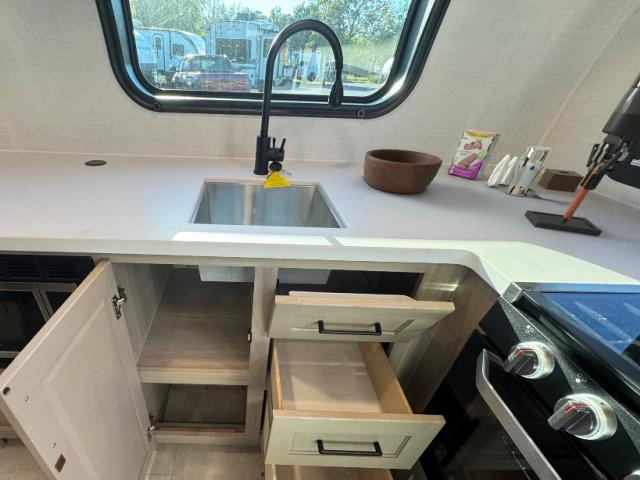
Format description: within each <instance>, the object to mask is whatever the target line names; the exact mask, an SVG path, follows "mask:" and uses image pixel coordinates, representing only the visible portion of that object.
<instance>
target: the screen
mask: <svg viewBox="0 0 640 480" xmlns="http://www.w3.org/2000/svg"><path fill="white" fill-rule="evenodd" d="M534 214H535V215H536V216H537V217H538V218H539V219H540V221H541V222H548V223H555V224H563V225H570V226H577V227H584V228H591V227H590V226H589V225H587V224H586V223H585V222H584V221H583V220H581V219H575V218H570V219H568V220H567V221H566V222H565V221H563V220H564V217H560V216H552V215H545V214H538V213H534ZM591 229H592V228H591Z"/></svg>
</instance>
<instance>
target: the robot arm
mask: <svg viewBox="0 0 640 480" xmlns="http://www.w3.org/2000/svg"><path fill="white" fill-rule="evenodd" d="M601 133H603V134H606V136H605V137H604V138H603V139H602V141H601V142H600V143H594V144H592V145H593V146H592V148H591V151H590V154H589V156H588V159H587V162H586V165H585V168H587V173H586V174H585V176H584V178H583V180H582V181H581V183H580V184H579V187H581V188H582V187H583V185H584V184H585V182H586V181H587V179H588V177H589V176H590V174H591V173H592V171H593V170H594V168H595V167H596V168H595V170H594V171H593V174H591V176H590V178H589V179H588V181H587V182H586V184H585V185H584V187H583V188H584V189H586V190H589V191H594V190H596V189H597V187H598V185H599V184H600V183H601V181H602V180H603V178H604V177H605V176H607V175H613V174H614V173H615V172H616V171H617V170H618V169H619V168H621V167H622V166H623V165H624V164H625V163H626V162H627V161H628V160H630V159H631V157H633V153H634V152H630V151H628V150H629V149H630V148H631V146H632V143H633V141H634V139H635V138H637V137H639V138H640V71H639V72H638V73H637V75H636V77H635V79H634V80H633V81H632V83H631V85H630V87H629V88H628V89H627V91H626V92H625V94H624V95H623V96H622V97H621V98H620V100H619V101H618V103H617V105H616V107H615V109H614V110H613V112H612V113H611V115H610V116H609V118H608V120H607V121H606V123H605V124H604V126H603V128H602V129H601Z"/></svg>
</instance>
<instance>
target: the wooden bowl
mask: <svg viewBox="0 0 640 480" xmlns="http://www.w3.org/2000/svg"><path fill="white" fill-rule="evenodd" d="M363 163H364V164H363V176H364V180H365V183H366V184H367V185H368V186H369V187H371V188H372V189H376V190H380V191H383V190H384V191H383V192H388V191H389V192H388V193H394V192H395V194H417V193H420V192H422V191H424V190H426V189H427V188H428V187H429V186H430V185H431V183H432V182H433V181H434V180H435V178H436V176H437V174H438V172H439V171H440V169H441V167H442V165H443V160H442V158H440V157H439V156H437V155H433V154H431V153H426V152H421V151H415V150H409V149H396V148H379V149H371V150H368V151H367V152H366V153H365V155H364V162H363Z"/></svg>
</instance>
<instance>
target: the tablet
mask: <svg viewBox="0 0 640 480" xmlns="http://www.w3.org/2000/svg"><path fill="white" fill-rule="evenodd" d="M534 213H538V214H545V215H552V216H560V217H563V216H564V215H565V214H558V213H552V212H544V211H543V212H542V211H538V210H537V211H536V210H529V209H527V210H526V211H525V213H524V216H525V217H526V219H527V220H528V221H529V222H530V223H531V224H532V226H533V227H534V228H538V229H539V228H540V229H546V230H552V231H559V232H564V233H565V232H567V233H571V234H572V233H573V234H579V235H587V236H593V237H600V235H601V234H602V233H603V230H602V229H601V228H599V227H598V226H597V225H596V224H594V223H593V222H592V221H590V220H589V219H588V217H582V216H574V215H573V216H572V217H571V218H575V219H581V220H583V221H584V222H585V223H586V224H587V225H589V226H590V227H591V228H592V229H591V228H584V227H577V226H570V225H563V224H555V223H548V222H541V221H540V219H539V218H538V217H537V216H536V215H535V214H534Z"/></svg>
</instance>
